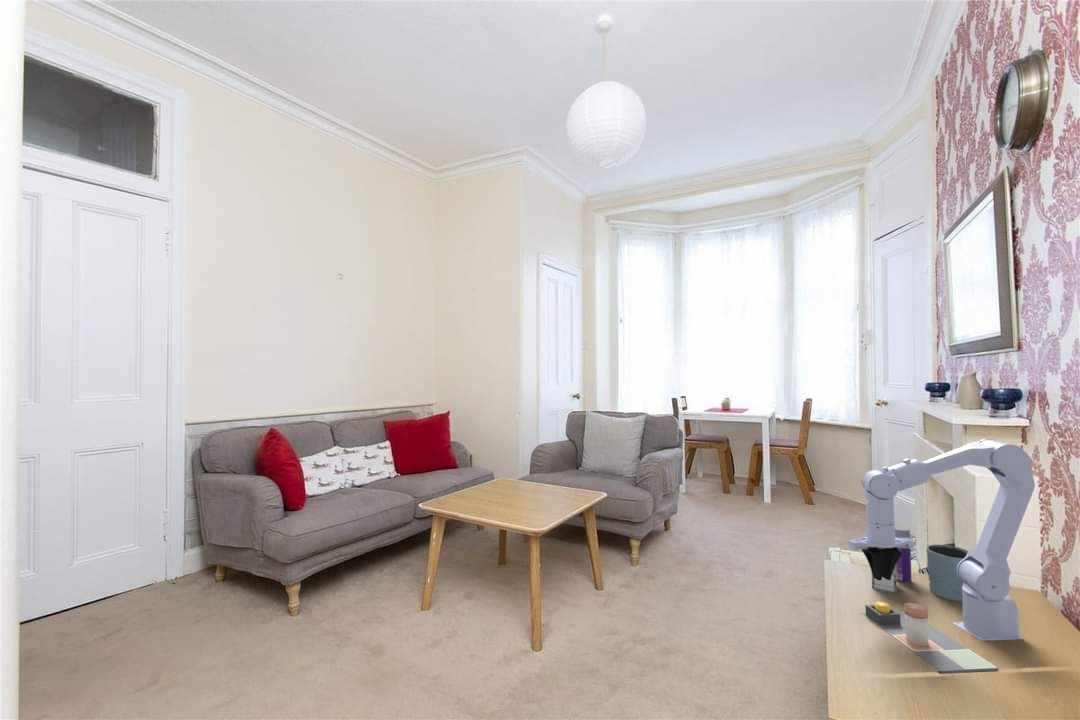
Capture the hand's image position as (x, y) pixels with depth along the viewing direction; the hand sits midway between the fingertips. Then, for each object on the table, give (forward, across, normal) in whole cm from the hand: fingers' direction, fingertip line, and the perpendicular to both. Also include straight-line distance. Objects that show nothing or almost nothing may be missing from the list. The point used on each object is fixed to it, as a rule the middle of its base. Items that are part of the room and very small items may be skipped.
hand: (881, 578), depth 123 cm
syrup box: (+11, -13, -18) cm, 24 cm away
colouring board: (+10, -3, +8) cm, 14 cm away
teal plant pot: (+11, -27, -12) cm, 31 cm away
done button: (+10, 0, 0) cm, 10 cm away
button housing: (+10, 0, 0) cm, 10 cm away
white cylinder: (+10, 0, +10) cm, 14 cm away
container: (+11, -21, -22) cm, 32 cm away
